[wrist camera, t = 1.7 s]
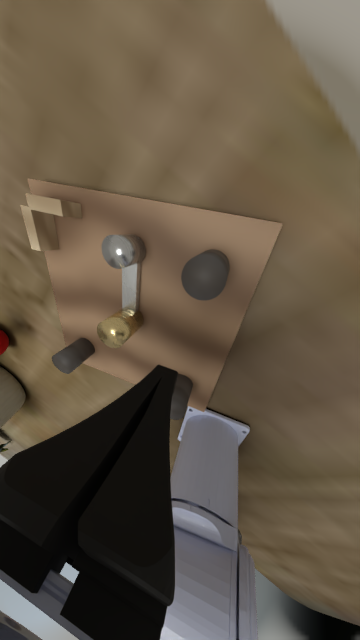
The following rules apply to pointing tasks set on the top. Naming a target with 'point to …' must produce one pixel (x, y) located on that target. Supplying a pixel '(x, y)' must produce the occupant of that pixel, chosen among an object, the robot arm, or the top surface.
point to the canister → (9, 396)
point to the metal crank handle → (123, 288)
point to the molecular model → (3, 342)
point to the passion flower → (0, 447)
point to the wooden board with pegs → (149, 282)
